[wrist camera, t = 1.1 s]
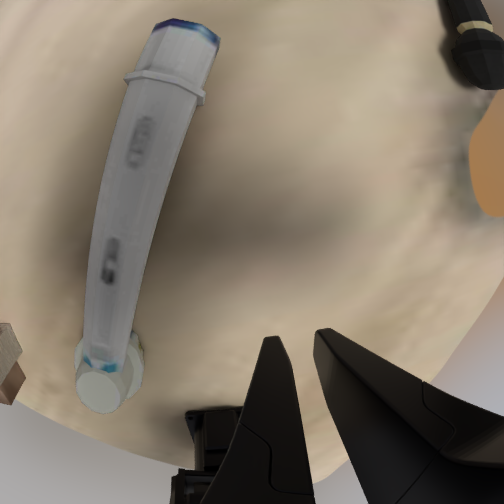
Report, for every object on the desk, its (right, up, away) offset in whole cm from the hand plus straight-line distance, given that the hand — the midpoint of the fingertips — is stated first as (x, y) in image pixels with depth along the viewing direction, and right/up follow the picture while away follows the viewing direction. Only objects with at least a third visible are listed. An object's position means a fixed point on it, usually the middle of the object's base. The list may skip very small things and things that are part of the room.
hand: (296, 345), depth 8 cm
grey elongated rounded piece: (-9, +4, +11) cm, 15 cm away
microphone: (+16, +25, +6) cm, 30 cm away
